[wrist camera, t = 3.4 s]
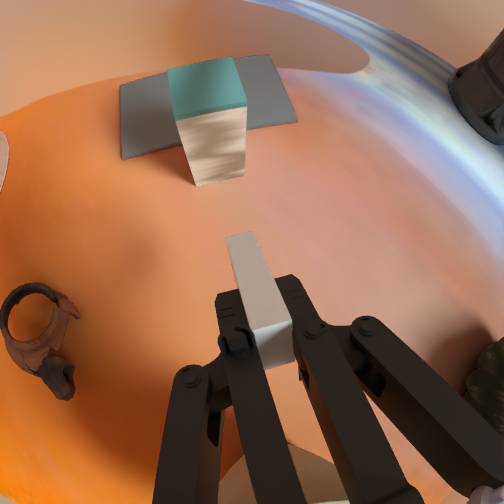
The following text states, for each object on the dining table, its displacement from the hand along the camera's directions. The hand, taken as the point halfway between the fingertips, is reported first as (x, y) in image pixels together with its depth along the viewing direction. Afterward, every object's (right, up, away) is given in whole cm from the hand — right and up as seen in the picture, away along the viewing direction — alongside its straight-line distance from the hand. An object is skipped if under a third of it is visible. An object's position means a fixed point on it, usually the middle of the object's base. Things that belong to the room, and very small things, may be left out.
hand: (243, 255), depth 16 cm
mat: (-6, +18, +15) cm, 25 cm away
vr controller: (-20, -10, +10) cm, 24 cm away
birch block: (-3, +10, +14) cm, 17 cm away
